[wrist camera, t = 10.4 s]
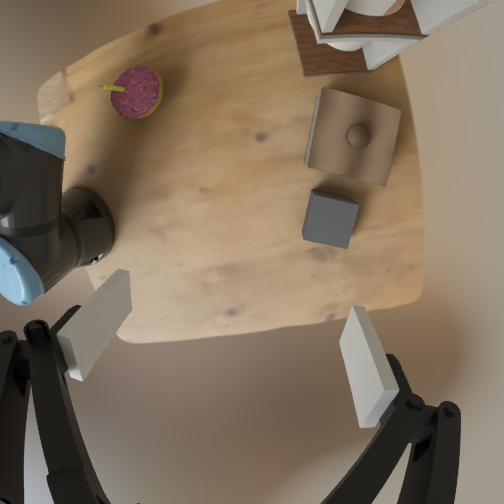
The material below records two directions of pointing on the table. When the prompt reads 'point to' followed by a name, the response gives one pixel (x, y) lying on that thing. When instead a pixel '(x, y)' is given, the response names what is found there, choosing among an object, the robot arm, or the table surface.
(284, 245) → the table surface
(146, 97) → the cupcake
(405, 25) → the white stacked pedestal
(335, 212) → the block
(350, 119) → the lid
